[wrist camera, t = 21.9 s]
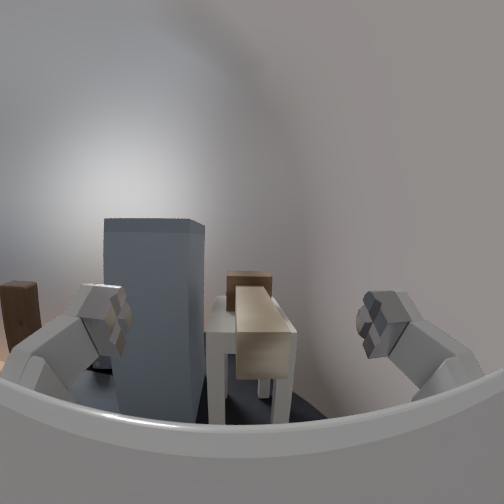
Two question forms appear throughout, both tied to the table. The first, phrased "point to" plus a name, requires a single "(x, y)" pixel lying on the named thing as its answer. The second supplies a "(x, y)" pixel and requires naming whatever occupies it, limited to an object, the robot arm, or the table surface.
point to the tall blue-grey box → (159, 315)
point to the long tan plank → (257, 327)
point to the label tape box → (102, 362)
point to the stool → (224, 342)
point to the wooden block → (19, 311)
